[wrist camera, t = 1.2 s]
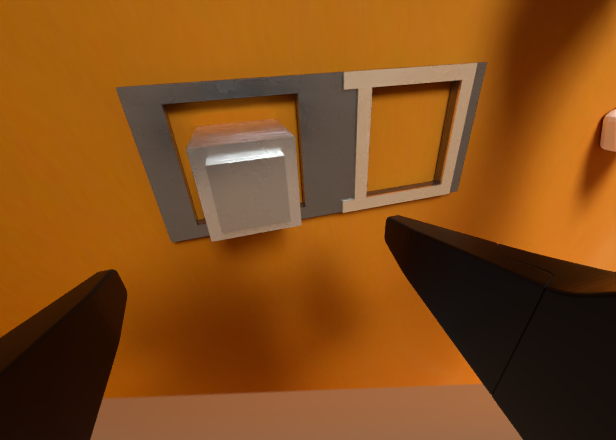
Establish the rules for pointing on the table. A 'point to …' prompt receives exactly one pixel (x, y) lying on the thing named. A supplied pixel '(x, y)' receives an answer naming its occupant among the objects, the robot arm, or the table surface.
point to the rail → (306, 136)
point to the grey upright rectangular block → (245, 177)
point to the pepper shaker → (609, 132)
